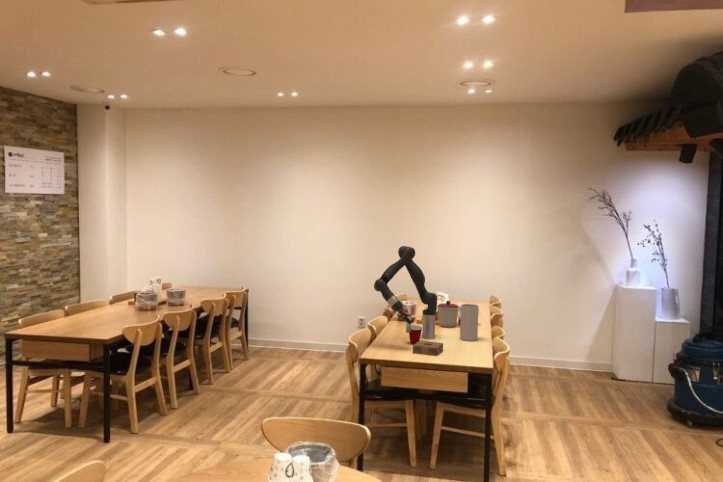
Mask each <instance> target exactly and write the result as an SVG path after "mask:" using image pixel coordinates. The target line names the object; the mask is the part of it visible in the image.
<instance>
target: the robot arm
mask: <svg viewBox="0 0 723 482" xmlns="http://www.w3.org/2000/svg"><path fill="white" fill-rule="evenodd" d="M397 251H398V252H397V253H398V257H399V259H398V260H397V261H395V262H394V263H392V264H391V265H388V267H386V269H385V270H384V272H383V273H382V274H381V276H380V277H379V278H378V279H376V280H375V281H374V284H373V288H374V290H375V291H376V292H380V293H381V296H382V298H383V299H384V301H386V303H387V305H389V307H390V308H391V309H392V311H394V312H395V313H397V316H399V317H400V318H401V319H402V320H403V321H405V322H406V321H407V322H408V324H411V325H412V324H413V323H414V320H413V318H411V321H410V319H409V318H408V317H407V316H406V312H409V310H408V309H407V308H406V309H405V308H404V303H402V301H401V300H400V299H399V298H398V296H396V295H395V294H394V292H393V291H391V289H390V287H389V286H388V283H389V282H390V281H391V280H392V279H393V278H394V277H395V276H396V274H397V273H398V272H399V271H400V270H401V269H402V268H404V267H405V268H406V271H407V273H408V274H409V277H410V278H411V281H412V283H413V284H414V286H415V288H416V290H417V293H418V295H419V296H418V297H419V299H420V302H421V303H422V304H423V305H427V308H425V309H423V311H422V327H423V329H422V331H421V334H422V335H421V337H422V338H423V339H426V340H427V339H429V340H430V339H431V340H432V339H435V337H436V313H437V311H438V307H437V305H438V296H437V294H436V293H435V292H429V291H428V290H427V288H426V286H425V285H426V284H425V283H426V276H425V274H424V272H423V271H422V269H421V268H420V266H419V265H418V264H417V263H416V262H415V261H414V260H413V259H414V258H415V256H416V250H415V248H414V247H411V246H406V245H403V246H400V247H399V248H398V250H397Z"/></svg>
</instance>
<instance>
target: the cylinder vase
mask: <svg viewBox="0 0 723 482" xmlns="http://www.w3.org/2000/svg"><path fill="white" fill-rule="evenodd" d="M459 323H460V324H459V325H460V326H459V327H460V328H459V339H460V340H461V341H465V342H475V341H478V331H479V305H478V304H471V303H463V304H461V305H460V322H459Z"/></svg>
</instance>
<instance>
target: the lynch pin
mask: <svg viewBox="0 0 723 482" xmlns="http://www.w3.org/2000/svg"><path fill="white" fill-rule="evenodd" d="M406 316H407V317H408V318H409V319H410V321H411V319H412V316H413V311H412V312H411V311H408V312H406ZM411 325H412V323H411V324H408V322H407V321H406V320H405V333H407V334H409V333H411Z"/></svg>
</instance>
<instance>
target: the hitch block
mask: <svg viewBox="0 0 723 482" xmlns="http://www.w3.org/2000/svg"><path fill="white" fill-rule="evenodd" d="M443 351H444V343H443V342H437V341H428V340H419V342H417V343H416V344H412V353H413V354H418V355H419V354H420V355H428V356H435V357H438V356H439V354H441V353H442V352H443Z"/></svg>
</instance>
